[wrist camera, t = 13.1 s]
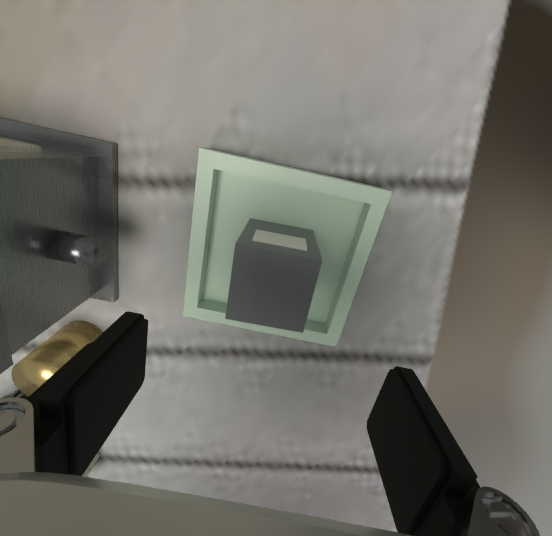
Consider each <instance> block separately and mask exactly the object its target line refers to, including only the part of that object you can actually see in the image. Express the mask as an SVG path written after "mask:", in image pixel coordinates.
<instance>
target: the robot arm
mask: <svg viewBox="0 0 552 536" xmlns="http://www.w3.org/2000/svg"><path fill="white" fill-rule="evenodd" d="M147 332H148V320H147V319H144V315H143V314H138V313H133V312H125V313H124V314H123V315H122V316H121V317H120V318H119V319H117V320H116V321H115V322H114V323H113V324H112V325H111V326H110V327H109V328H108V329H107V330H106V331H104V332H103V333H102V334H101V335H100V336H99V337H98V338H97V339H96V340H95V341H94V342H91V343H88V344H87V345H85V346H84V347H83V348H82V349H81V350H80V351H79V352H78V353H76V354H75V355H74V356H73V357H72V358H71V359H70V360H69V361H68V362H66V363H65V364H64V365H63V366H62V367H61V368H60V369H59V370H58V371H56V372H55V373H54V374H53V375H52V376H51V377H50V378H49V379H48V380H46V381H45V382H44V383H43V384H42V385H41V386H40V387H39V388H38V389H37V390H35V391H34V392H33V393H32V394H31V395H30V396H29V397H28V398H27V399H23V398H19V397H8V398H2V399H0V536H540V534H539V531H538V529H537V528H536V526H535V524H534V522H533V521H532V519H531V518H530V517H529V515H528V514H527V513H526V512H525V511H524V510H523V509H522V508H521V507H520V506H519V504H517V503H516V502H515V501H514V500H513V499H511V498H510V497H509V496H507V495H506V494H504V493H502V492H501V491H499V490H497V489H494V488H491V487H484V486H483V487H481V488H480V486H479V484H478V483H477V481H476V478H477V475H476V474H475V472H474V470H473V468H472V467H471V465H470V463H469V462H468V460H467V459H466V457H465V455H464V454H463V452H462V450H461V449H460V447H459V445H458V444H457V442H456V440H455V439H454V437H453V436H452V434H451V432H450V430H449V429H448V427H447V426H446V424H445V422H444V421H443V419H442V417H441V416H440V414H439V412H438V411H437V409H436V407H435V406H434V404H433V402H432V401H431V399H430V397H429V396H428V394H427V392H426V391H425V389H424V387H423V386H422V384H421V382H420V381H419V379H418V377H417V376H416V374H415V372H414V371H413V370H412V369H408V368H403V367H398V366H397V367H395V368H394V369H390V370H389V372H388V374H387V376H386V379H385V381H384V383H383V386H382V388H381V390H380V392H379V395H378V397H377V399H376V402H375V404H374V406H373V408H372V411H371V413H370V415H369V418H368V420H367V431H368V434H369V438H370V441H371V444H372V448H373V451H374V454H375V458H376V461H377V465H378V468H379V471H380V475H381V478H382V481H383V485H384V488H385V491H386V495H387V498H388V502H389V505H390V508H391V512H392V515H393V518H394V522H395V525H396V528H397V531H398V533H397V532H392V531H387V530H382V529H376V528H371V527H366V526H361V525H355V524H350V523H345V522H339V521H334V520H329V519H323V518H318V517H313V516H307V515H302V514H296V513H291V512H285V511H280V510H274V509H269V508H264V507H258V506H252V505H247V504H241V503H236V502H230V501H225V500H219V499H214V498H208V497H202V496H197V495H191V494H185V493H180V492H174V491H168V490H162V489H157V488H151V487H145V486H140V485H134V484H128V483H122V482H115V481H109V480H102V479H96V478H89V477H83V476H82V475H83V474H84V472H85V471H86V469H87V468H88V466H89V465H90V463H91V462H92V460H93V459H94V457H95V456H96V454H97V453H98V451H99V450H100V448H101V447H102V445H103V444H104V442H105V441H106V439H107V437H108V436H109V434H110V433H111V431H112V430H113V428H114V427H115V425H116V424H117V422H118V421H119V419H120V418H121V416H122V415H123V413H124V412H125V410H126V409H127V407H128V405H129V404H130V402H131V401H132V399H133V398H134V396H135V395H136V393H137V392H138V390H139V389H140V387H141V386H142V384H143V381H144V377H145V364H146V348H147Z"/></svg>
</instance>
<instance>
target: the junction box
mask: <svg viewBox="0 0 552 536" xmlns="http://www.w3.org/2000/svg"><path fill="white" fill-rule="evenodd" d="M88 298H95V299H100V300H105V301H110V302H115V301H116V300H117V299H118V175H117V144H115V143H111V142H107V141H102V140H98V139H93V138H89V137H84V136H80V135H75V134H71V133H66V132H62V131H58V130H53V129H49V128H44V127H40V126H35V125H31V124H26V123H22V122H17V121H13V120H9V119H4V118H0V374H1V373H2V372H4V371H5V370H6V369H8V368H9V367H10V366H11V365H13V361H12V356H11V355H12V354H14V353H15V352H16V351H18V350H19V349H20V348H22V347H23V346H24V345H26V344H27V343H29V342H30V341H31V340H33V339H34V338H35V337H37V336H38V335H39V334H41V333H42V332H43V331H45V330H46V329H48V328H49V327H50V326H52V325H53V324H54V323H56V322H57V321H58V320H60V319H61V318H62V317H64V316H65V315H67V314H68V313H69V312H71V311H72V310H73V309H75V308H76V307H77V306H79V305H80V304H82V303H83V302H84V301H86V300H87V299H88Z"/></svg>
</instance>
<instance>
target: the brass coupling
mask: <svg viewBox="0 0 552 536" xmlns="http://www.w3.org/2000/svg"><path fill="white" fill-rule="evenodd" d="M102 333H103V332H102V331H101V330H100V329H99V328H97V327H96V326H95V325H93V324H91V323H88V322H85V321H73V322H70V323H68V324H67V325H66V326H64V327H63V328H62V329H60V330H59V331H58V332H57V333H55V334H54V335H53V336H51V337H50V338H49V339H48V340H46V341H45V342H44V343H43V344H41V345H40V346H39V347H37V348H36V349H35V350H34V351H32V352H31V353H30V354H28V355H27V356H26V357H25V358H23V359H22V360H21V361H20V362H18V363H17V364H16V365H15V366H14V367H13V369H12V379H13V382H14V383H15V385H16V386H17V388H18V389H19V390H20V391H21V392H22V393H24V394H25V395H27V396H28V397H29V396H30V395H31V394H32V393H33V392H34V391H35V390H37V389H38V388H39V387H40V386H41V385H42V384H43V383H44V382H45V381H46V380H48V379H49V378H50V377H51V376H52V375H53V374H54V373H55V372H56V371H58V370H59V369H60V368H61V367H62V366H63V365H64V364H65V363H66V362H68V361H69V360H70V359H71V358H72V357H73V356H74V355H75V354H76V353H78V352H79V351H80V350H81V349H82V348H83V347H84V346H85V345H87V344H88V343H91V342H94V341H95V340H96V339H97V338H98V337H99V336H100V335H101V334H102Z"/></svg>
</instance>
